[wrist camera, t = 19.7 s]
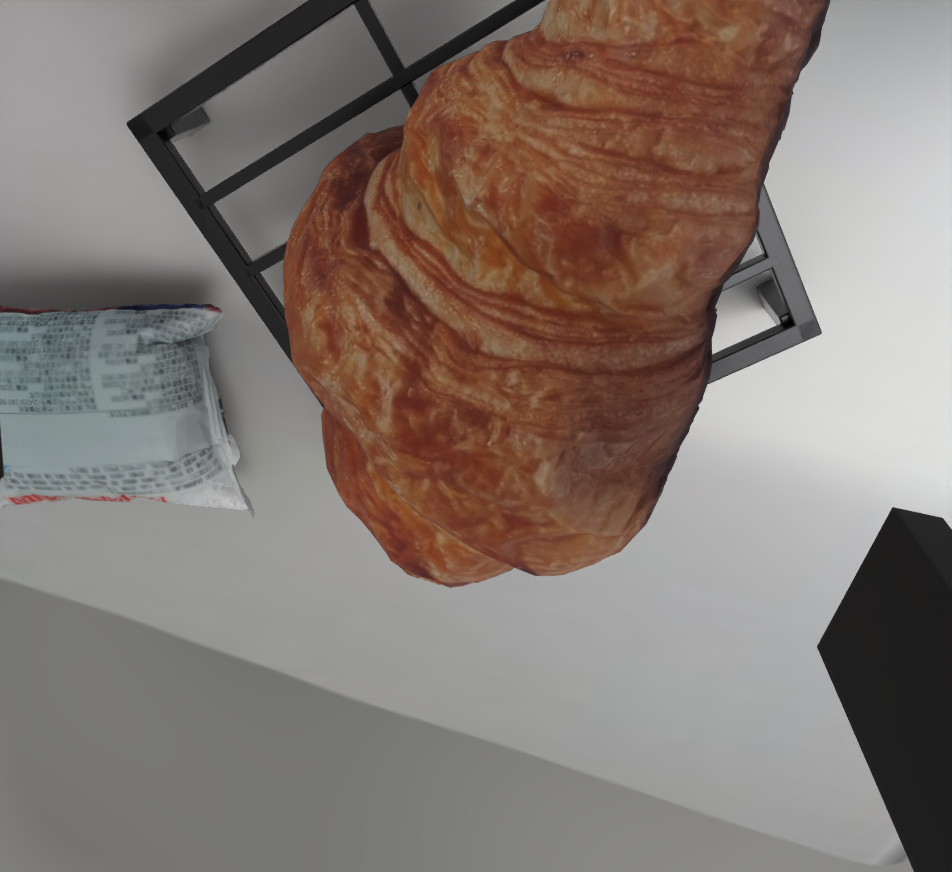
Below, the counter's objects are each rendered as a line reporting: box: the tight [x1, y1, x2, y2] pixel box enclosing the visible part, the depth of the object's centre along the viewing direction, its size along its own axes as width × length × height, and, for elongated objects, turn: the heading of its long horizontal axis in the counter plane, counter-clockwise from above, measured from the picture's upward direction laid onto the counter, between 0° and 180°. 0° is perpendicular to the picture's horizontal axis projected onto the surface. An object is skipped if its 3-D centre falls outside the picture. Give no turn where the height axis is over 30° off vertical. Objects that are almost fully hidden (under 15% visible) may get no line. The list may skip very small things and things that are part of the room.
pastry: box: [283, 0, 830, 588], centre depth 20 cm, size 17×15×8 cm
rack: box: [127, 0, 822, 408], centre depth 27 cm, size 16×16×4 cm
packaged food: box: [0, 304, 254, 518], centre depth 31 cm, size 9×12×5 cm
